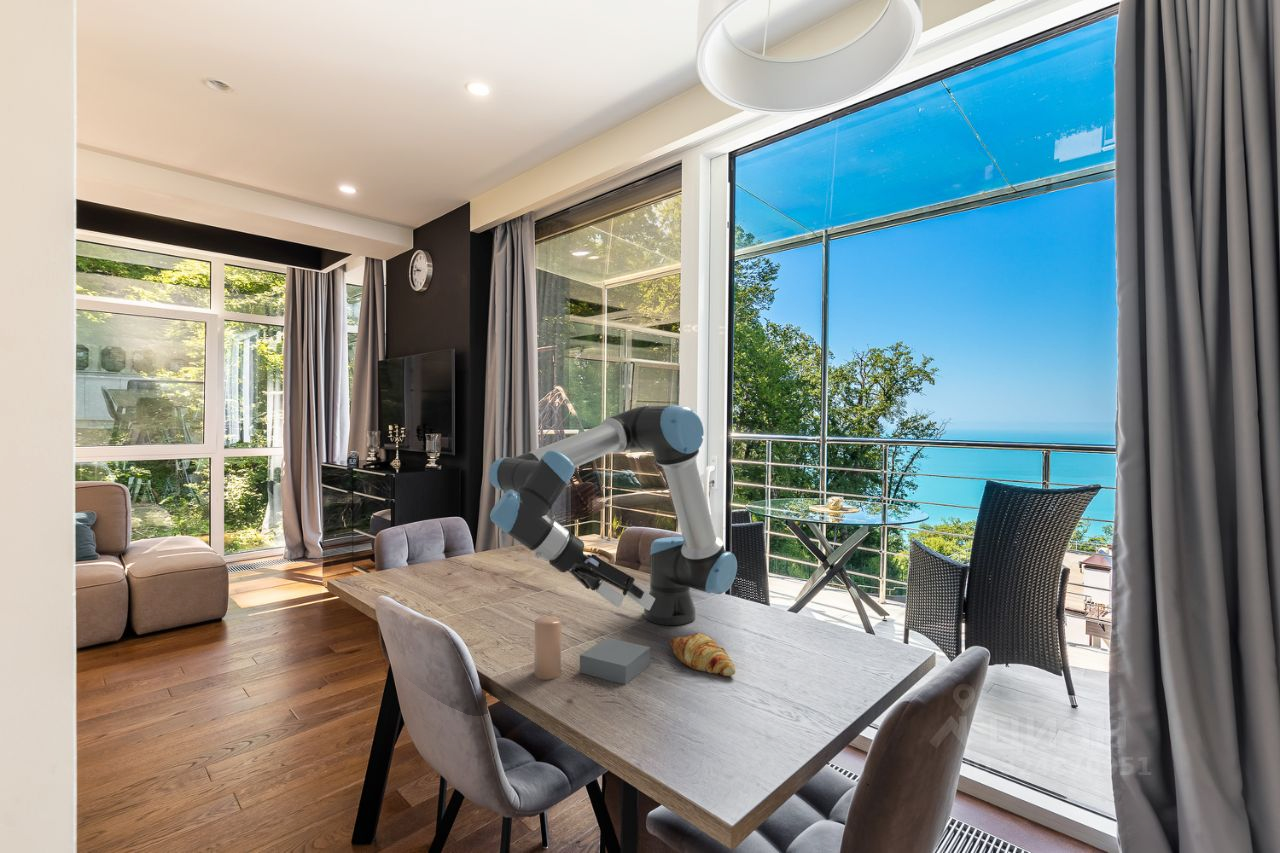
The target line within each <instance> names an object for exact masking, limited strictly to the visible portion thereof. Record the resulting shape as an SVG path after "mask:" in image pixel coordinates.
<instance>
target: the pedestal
mask: <svg viewBox="0 0 1280 853" xmlns="http://www.w3.org/2000/svg"><path fill="white" fill-rule="evenodd" d="M651 651H652V647H650V646H646V645H642V644H636V643H632V642H629V641H624V640H619V639H615V638H610V637H606V638H605V639H603V640H602V641H600V642H598V643H597V644H595V645H593V646H592V647H591V648H588V649H586V651H584V652H582V653H581V654H580V655H579V673H580V674H583V675H588V676H591V677H596V678H600V679H603V680H607V681H610V682H614V683H618V684H622V685H627V684H628V683H629V682H631V681H632V680H633V679H634V678H636V677H637V675H639V674H640V673H641V672H643V671H644V670H645V669H647V667H649V666H650V665H651V663H652V661H651V660H652V659H651V655H652V654H651Z"/></svg>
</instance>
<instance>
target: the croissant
mask: <svg viewBox="0 0 1280 853" xmlns="http://www.w3.org/2000/svg"><path fill="white" fill-rule="evenodd" d="M669 644H670V646H671V648H672V652H673V654H674V655H675V656H676V658H677V659H678V660H679V661H680V662H681V664H684V665H685V666H688V668H691V669H693V670H697V671H701V672H707V673H709V674H716V675H718V674H719V675H722V676H723V677H724V676H725V677H730V676H733V675H735V674H736V666H735V664H734V661H733V660H732V659H731V658H730V656H729V654H728V653H727V652H726V649H725V647H724V648H723V647H722V646H721V647H720V646H718V644H717V643H716V641H715V639H713V637H710V636H708V635H706V634H702V633H699V632H696V633H694V634H692V635H687V636H685V637H683V636H678V637H671V638H670V639H669Z"/></svg>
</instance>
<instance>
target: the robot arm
mask: <svg viewBox="0 0 1280 853" xmlns="http://www.w3.org/2000/svg"><path fill="white" fill-rule="evenodd" d="M704 431H705V430H704V426H703V422H702V420H701V418H700V416H699V414H698V413H697V412H696V411H694V410H693V409H691V408H690V407H688V406H680V405H676V404H675V405H673V404H672V405H654V406H653V405H652V406H651V405H643V406H639V407H634V408H631V409H629V410H625V411H623V412H620V413H618V414H616V415H612V416H610V417H607V418H605V419H603V420H602V422H601V423H600V425H597V426H595V427H591V428H589V429H586V430H583V431H581V432H578V433H576V434H573V435H571V436H568V437H566V438H563V439H561V440H557V441H556V442H553V443H550V444H547V445H545V446H542V447H540V448H536V449H533V450H530V451H528V452H526V453H523V454H520V455H518V456H515V457H508V456H506V457H501V458H498V459H496V460H495V461H493V463H491V466H490V468H489V470H488V478H489V481H490V484H491V486H492V487H494V488H495V489H497V490H500V491H502V492H504V493H503V494H502V495H501V497H500V498H499V499H498V500H497V502H496V503H495V504H494V506H493V507H492V510H491V511H490V514H489V517H490V521H491V522H492V523H493V524H495V526H497V528H499V529H501V530H502V531H503V532H504V534H507V535H509V536H510V537H511V538H513V539H514V540H515V541H517V542H518V543H520V544H522V546H525V547H526V548H527V549H528V550H530V551H532V552H533V553H535V555H534V557H535V558H536V559H539V558H542V560H544V561H546V562H548V563H549V565H550V566H552V567H554V568H555V569H556V570H558V572H560V573H567V572H569V573H570V574H571V575H572V576H573V577H574V578H575V579H576V580H577V581H578V582H579V583H580V584H581V585H582V586H583V587H585V589H587V590H592V591H595V592H596V593H597V594H599V595H600V596H601V597H602V598H604V599H605V600H607V601H608V602H610V603H611V604H612V605H613V606H615V607H616V608H620V607H621V605H622V602H623V601H624V599H625V597H626V596H627V597H629V598H630V599H631V600H633V601H634V602H636V603H637V604H638V605H639V606H641V607H643V617H644V619H645V620H647V621H648V622H650V623H653V624H657V625H662V626H679V625H687V624H689V623H691V622H693V621H695V620H696V616H697V615H696V607H695V603H694V600H693V596H692V594H691V589H694V590H697V591H700V592H701V591H702V592H705V593H707V594H715V595H722V594H725V593H726V592H727V591H728V590H730V588H731V587H732V585H733V583H734V581H735V579H736V575H737V571H738V561H737V558H736V556H735V554H734V553H732V552H731V551H726V550H725V547H724V546H725V545H724V543H723V542H724V541H723V540H722V538H721V537H719V536H717V535H716V534H715V530H714V526H713V523H712V519H711V515H710V511H709V507H708V503H707V499H706V495H705V492H704V488H703V484H702V481H701V476H700V473H699V468H698V465H697V461H696V458H697V456H698V455H699V454H700V447H701V446H702V444H703V440H704V438H703V437H704V435H705V432H704ZM630 450H635V451H636V450H640V451H641V450H642V451H652V454H653V457H654V461H655V463H656V464H657V465H658V466H661V467H662V468H663V471H664V474H665V479H666V482H667V485H668V490H669V492H670V493H669V494H670V496H671V500H672V503H673V506H674V510H675V513H676V518H677V521H678V525H679V528H680V532H681V536H669V537H668V536H667V537H662V538H661V537H660V538H657V539H654V540H653V541H652V542H651V546H650V553H649V556H650V557H649V563H650V564H649V567H650V568H649V573H650V574H649V575H650V576H649V580H650V588H649V592H647V591H646V590H644V589H643V588H642V587H641V586H640V585H638V584H636V582H635V577H634V576H630V575H629V574H627V573H626V572H624V571H622V570H621V569H619V568H617V567H615V566H613V565H611V563H610V564H609V563H607V562H606V561H604V560H603V559H601V558H600V557H598V556H597V555H596V554H591V555H590V554H587V555H586V554H584V549H585V543H584V541H583V540H582V539H580V538H579V537H577V536H576V535H575V534H573V533H570V532H569V529H567V528H565V527H564V526H563V525H561V524H560V523H559V522H557V520H555V519H553V518H552V517H550V515H548V514H549V512H550V511H551V509H552V508H553V506H554V505H555V503H556V502H557V501H558V499H559V497H561V494H562V493H563V492H564V491H565V489H566V487H567V486H568V485H569V482H570V480H571V479H572V477H573V475H574V473H575V471H576V468H578V467H579V466H583V465H585V464H587V463H589V462H592V461H594V460H596V459H599V458H601V457H604V456H606V455H608V454H611V453H612V454H620V453H623V452H625V451H630ZM612 586H613V587H612ZM614 587H615V588H617V589H619V590H621V591H622V593H620V592H619V591H618V590H616V589H615V588H614Z"/></svg>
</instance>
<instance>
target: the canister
mask: <svg viewBox="0 0 1280 853" xmlns="http://www.w3.org/2000/svg"><path fill="white" fill-rule="evenodd" d="M533 648H534V651H533V652H534V653H533V654H534V655H533V656H534V658H533V659H534V661H533V662H534V663H533V664H534V668H533V670H534V671H533V672H534V673H533V674H534V675H533V676H534V677H535V678H536V679H539V680H546V681H547V680H554V679H557V678H558V677H560V676H561V674H562V618H560V617H557V616H552V615H551V616H542V617H539V618H537V619H535V620H534V647H533Z"/></svg>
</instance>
